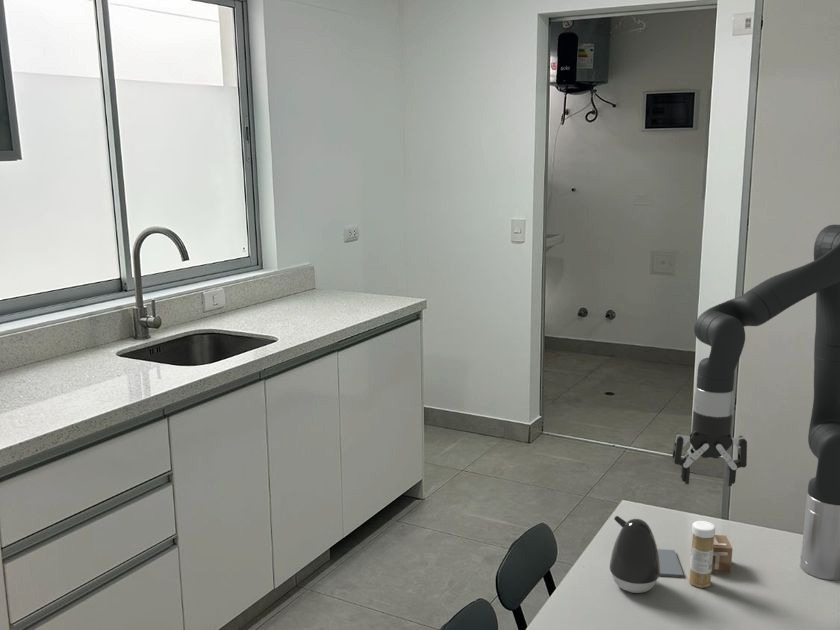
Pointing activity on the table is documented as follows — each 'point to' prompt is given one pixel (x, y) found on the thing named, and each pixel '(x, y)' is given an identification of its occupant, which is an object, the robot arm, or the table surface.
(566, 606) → the table surface
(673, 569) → the blue-grey square plate
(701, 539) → the sprinkles bottle
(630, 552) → the pump dispenser
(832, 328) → the robot arm
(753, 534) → the table surface
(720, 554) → the walnut letter cube
